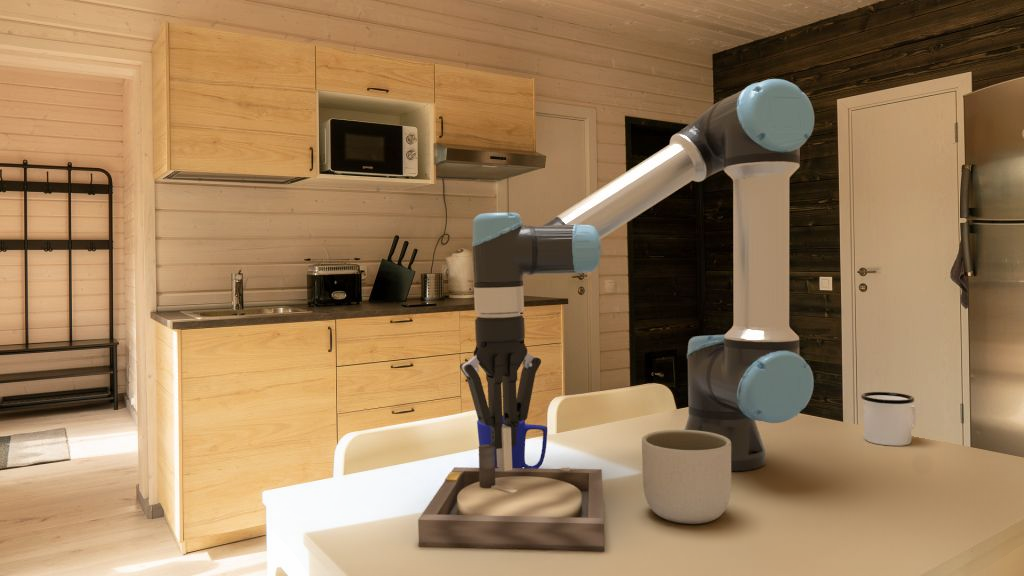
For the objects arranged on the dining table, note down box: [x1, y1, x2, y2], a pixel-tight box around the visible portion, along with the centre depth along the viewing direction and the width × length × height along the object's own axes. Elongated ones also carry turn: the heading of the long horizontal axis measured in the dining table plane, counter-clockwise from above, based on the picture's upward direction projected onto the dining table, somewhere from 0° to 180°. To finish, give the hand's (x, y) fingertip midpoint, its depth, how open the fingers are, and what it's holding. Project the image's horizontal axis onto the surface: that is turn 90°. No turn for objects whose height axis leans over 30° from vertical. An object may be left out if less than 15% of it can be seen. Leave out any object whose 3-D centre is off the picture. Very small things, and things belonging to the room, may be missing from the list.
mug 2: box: [860, 391, 917, 447], centre depth 142 cm, size 12×10×9 cm
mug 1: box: [476, 414, 548, 468], centre depth 121 cm, size 8×12×10 cm
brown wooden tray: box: [417, 466, 605, 552], centre depth 103 cm, size 24×24×4 cm
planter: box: [641, 429, 732, 525], centre depth 102 cm, size 12×12×11 cm
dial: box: [457, 445, 582, 518], centre depth 103 cm, size 18×18×8 cm
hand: (504, 468), depth 109 cm, fingers closed
